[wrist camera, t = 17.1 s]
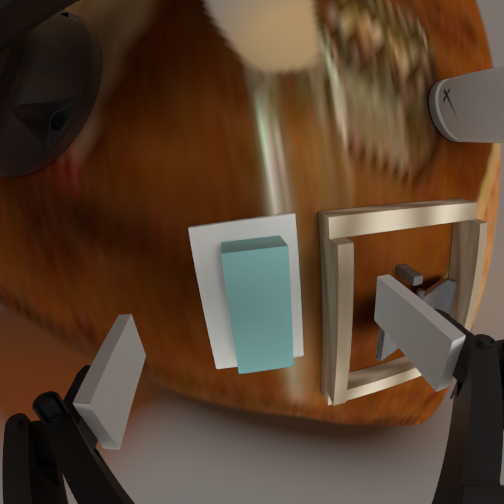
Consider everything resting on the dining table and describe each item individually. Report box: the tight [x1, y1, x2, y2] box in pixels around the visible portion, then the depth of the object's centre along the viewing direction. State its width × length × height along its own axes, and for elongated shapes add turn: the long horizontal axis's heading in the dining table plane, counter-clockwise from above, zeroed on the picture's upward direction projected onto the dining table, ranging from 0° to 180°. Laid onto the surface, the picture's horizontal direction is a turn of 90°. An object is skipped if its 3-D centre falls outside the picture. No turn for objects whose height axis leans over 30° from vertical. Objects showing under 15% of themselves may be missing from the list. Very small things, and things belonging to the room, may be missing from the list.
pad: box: [188, 212, 303, 369], centre depth 24 cm, size 8×13×1 cm, turn 7°
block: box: [221, 235, 294, 374], centre depth 22 cm, size 10×4×3 cm, turn 5°
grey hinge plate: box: [376, 277, 457, 361], centre depth 22 cm, size 11×5×2 cm, turn 96°
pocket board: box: [318, 199, 488, 406], centre depth 24 cm, size 16×19×4 cm
